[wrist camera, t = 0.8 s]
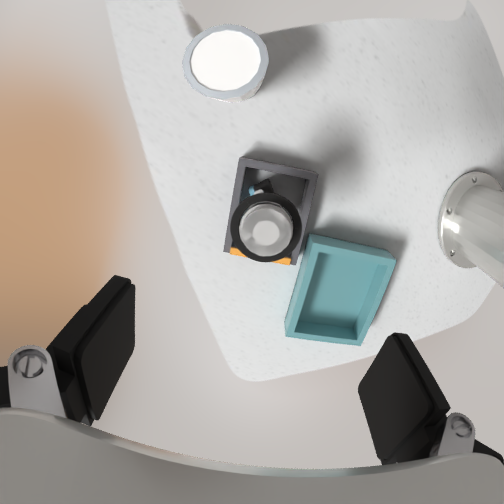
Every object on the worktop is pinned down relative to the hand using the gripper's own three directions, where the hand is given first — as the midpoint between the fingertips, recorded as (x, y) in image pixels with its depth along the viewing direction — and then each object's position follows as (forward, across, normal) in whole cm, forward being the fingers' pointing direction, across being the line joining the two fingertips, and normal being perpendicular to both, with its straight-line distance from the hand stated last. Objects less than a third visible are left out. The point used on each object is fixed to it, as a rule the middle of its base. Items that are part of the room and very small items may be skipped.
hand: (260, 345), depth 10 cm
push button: (+22, -1, 0) cm, 22 cm away
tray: (+22, -11, +7) cm, 25 cm away
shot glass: (+22, +6, -12) cm, 26 cm away
